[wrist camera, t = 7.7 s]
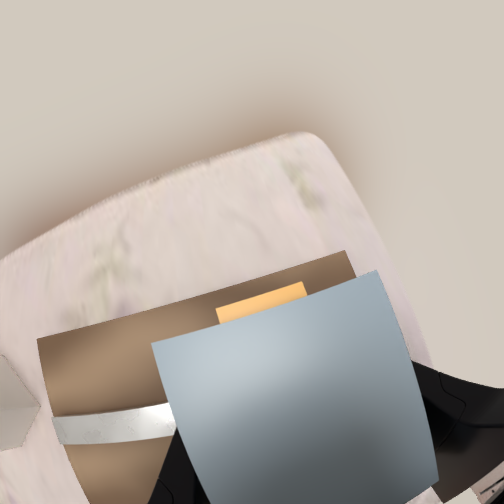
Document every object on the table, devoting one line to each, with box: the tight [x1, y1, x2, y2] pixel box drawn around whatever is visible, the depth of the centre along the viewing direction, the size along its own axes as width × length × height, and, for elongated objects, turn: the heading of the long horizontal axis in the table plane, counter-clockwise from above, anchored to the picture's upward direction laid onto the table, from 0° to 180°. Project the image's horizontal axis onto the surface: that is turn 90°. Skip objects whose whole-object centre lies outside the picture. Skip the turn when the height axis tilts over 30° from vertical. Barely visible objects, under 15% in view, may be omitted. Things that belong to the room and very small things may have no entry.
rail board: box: [37, 250, 357, 504], centre depth 15 cm, size 14×24×2 cm, turn 108°
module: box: [151, 270, 439, 504], centre depth 10 cm, size 7×6×10 cm
